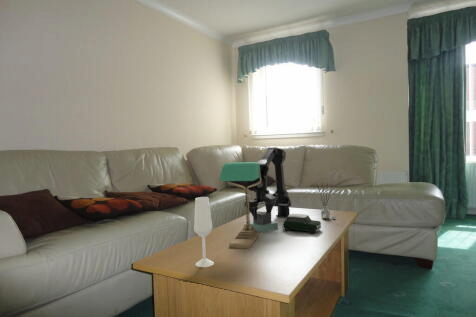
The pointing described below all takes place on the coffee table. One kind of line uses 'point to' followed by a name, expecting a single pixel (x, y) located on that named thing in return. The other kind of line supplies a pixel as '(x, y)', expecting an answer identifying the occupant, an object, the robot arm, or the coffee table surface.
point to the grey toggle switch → (263, 218)
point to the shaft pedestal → (264, 227)
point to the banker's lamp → (245, 173)
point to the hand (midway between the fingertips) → (262, 218)
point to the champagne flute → (203, 226)
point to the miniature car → (301, 223)
